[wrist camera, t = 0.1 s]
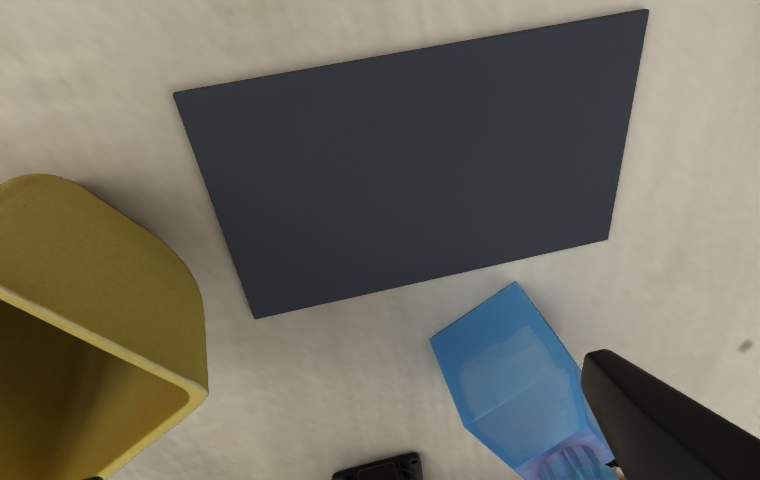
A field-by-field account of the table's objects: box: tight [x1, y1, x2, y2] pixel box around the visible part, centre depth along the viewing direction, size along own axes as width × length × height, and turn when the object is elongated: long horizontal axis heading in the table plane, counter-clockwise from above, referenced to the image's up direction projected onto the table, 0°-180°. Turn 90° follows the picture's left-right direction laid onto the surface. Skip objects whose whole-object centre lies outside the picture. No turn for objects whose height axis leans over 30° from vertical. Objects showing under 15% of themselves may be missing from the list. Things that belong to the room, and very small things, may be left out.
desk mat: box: [173, 9, 649, 319], centre depth 23 cm, size 12×20×1 cm, turn 97°
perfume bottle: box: [429, 281, 619, 480], centre depth 26 cm, size 6×6×12 cm
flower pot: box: [0, 174, 209, 480], centre depth 18 cm, size 9×9×9 cm
